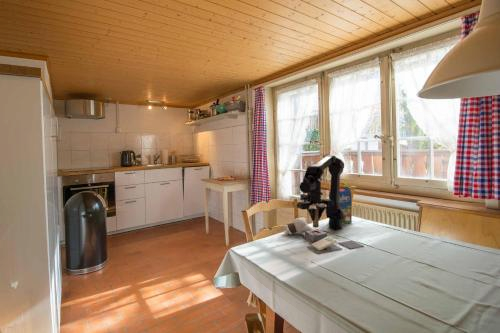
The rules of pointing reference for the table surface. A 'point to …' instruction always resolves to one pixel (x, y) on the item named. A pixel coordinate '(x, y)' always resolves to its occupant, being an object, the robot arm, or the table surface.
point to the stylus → (316, 219)
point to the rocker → (324, 243)
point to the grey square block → (314, 235)
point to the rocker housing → (325, 249)
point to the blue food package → (345, 202)
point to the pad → (351, 244)
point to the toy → (297, 226)
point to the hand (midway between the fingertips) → (315, 220)
